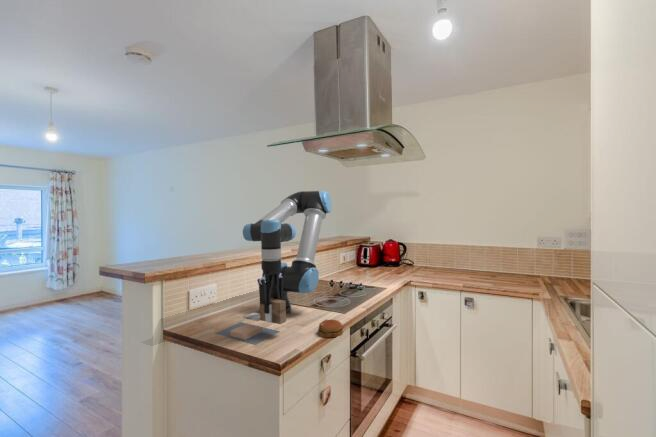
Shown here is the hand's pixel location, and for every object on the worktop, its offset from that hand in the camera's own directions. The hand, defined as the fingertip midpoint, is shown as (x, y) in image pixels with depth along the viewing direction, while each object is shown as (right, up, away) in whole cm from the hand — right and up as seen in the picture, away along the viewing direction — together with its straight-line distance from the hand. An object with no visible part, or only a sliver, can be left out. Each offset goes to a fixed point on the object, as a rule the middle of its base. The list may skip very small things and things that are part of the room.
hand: (272, 319), depth 120 cm
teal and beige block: (-8, -5, +4) cm, 10 cm away
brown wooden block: (-3, -1, +2) cm, 4 cm away
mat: (-10, -6, +2) cm, 12 cm away
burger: (+23, -6, +2) cm, 24 cm away
